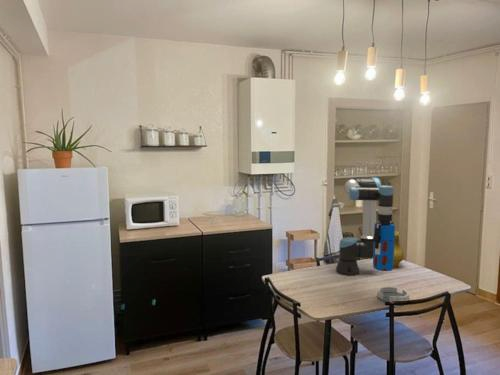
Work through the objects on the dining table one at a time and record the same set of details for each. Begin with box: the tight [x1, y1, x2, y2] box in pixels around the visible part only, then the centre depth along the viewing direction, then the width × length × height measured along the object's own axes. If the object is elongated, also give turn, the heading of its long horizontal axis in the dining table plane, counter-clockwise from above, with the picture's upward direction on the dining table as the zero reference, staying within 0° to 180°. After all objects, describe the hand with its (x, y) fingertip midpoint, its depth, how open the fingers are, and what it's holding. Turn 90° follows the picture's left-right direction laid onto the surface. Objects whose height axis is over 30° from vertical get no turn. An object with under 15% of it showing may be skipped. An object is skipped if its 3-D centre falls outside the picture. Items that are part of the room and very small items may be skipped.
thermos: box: [372, 222, 396, 272], centre depth 215 cm, size 11×11×25 cm
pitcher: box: [393, 230, 405, 269], centre depth 277 cm, size 17×19×25 cm
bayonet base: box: [376, 285, 410, 303], centre depth 217 cm, size 17×17×4 cm
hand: (383, 252), depth 216 cm, fingers closed on thermos, 11 cm apart
